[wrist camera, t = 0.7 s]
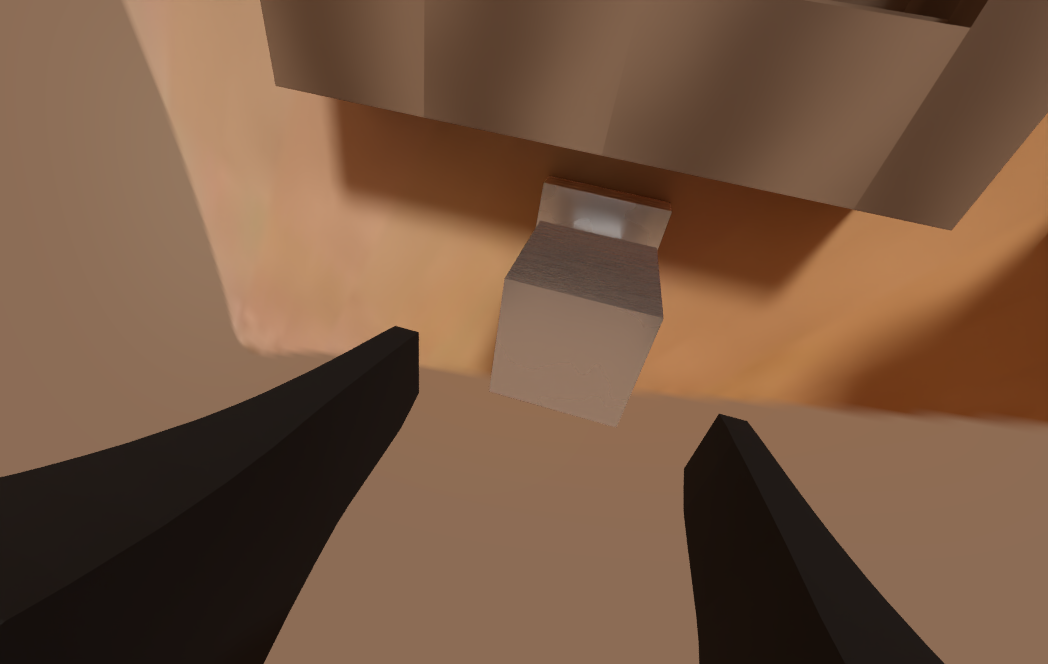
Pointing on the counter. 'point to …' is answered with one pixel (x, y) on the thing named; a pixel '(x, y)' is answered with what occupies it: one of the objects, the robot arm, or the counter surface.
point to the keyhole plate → (706, 84)
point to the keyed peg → (582, 302)
